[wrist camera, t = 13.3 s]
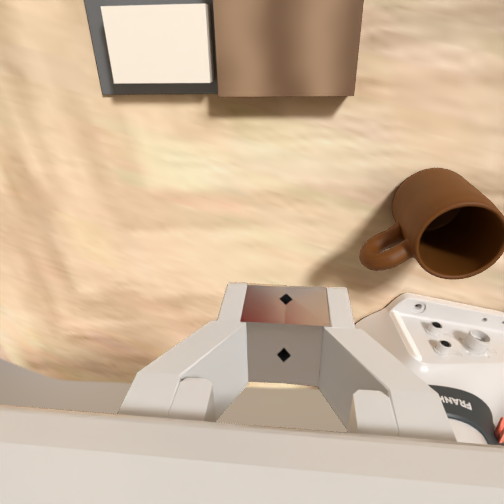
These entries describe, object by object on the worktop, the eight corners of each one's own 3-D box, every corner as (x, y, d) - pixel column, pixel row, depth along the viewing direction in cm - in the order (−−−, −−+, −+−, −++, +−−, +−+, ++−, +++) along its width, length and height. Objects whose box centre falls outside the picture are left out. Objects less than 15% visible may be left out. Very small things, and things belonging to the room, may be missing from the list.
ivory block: (210, 5, 33) (205, 3, 32) (214, 80, 36) (210, 82, 34) (110, 7, 34) (100, 6, 32) (122, 81, 37) (114, 83, 35)
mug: (362, 256, 44) (376, 306, 36) (339, 198, 41) (350, 238, 33) (474, 219, 40) (518, 265, 32) (459, 152, 37) (503, 185, 29)
